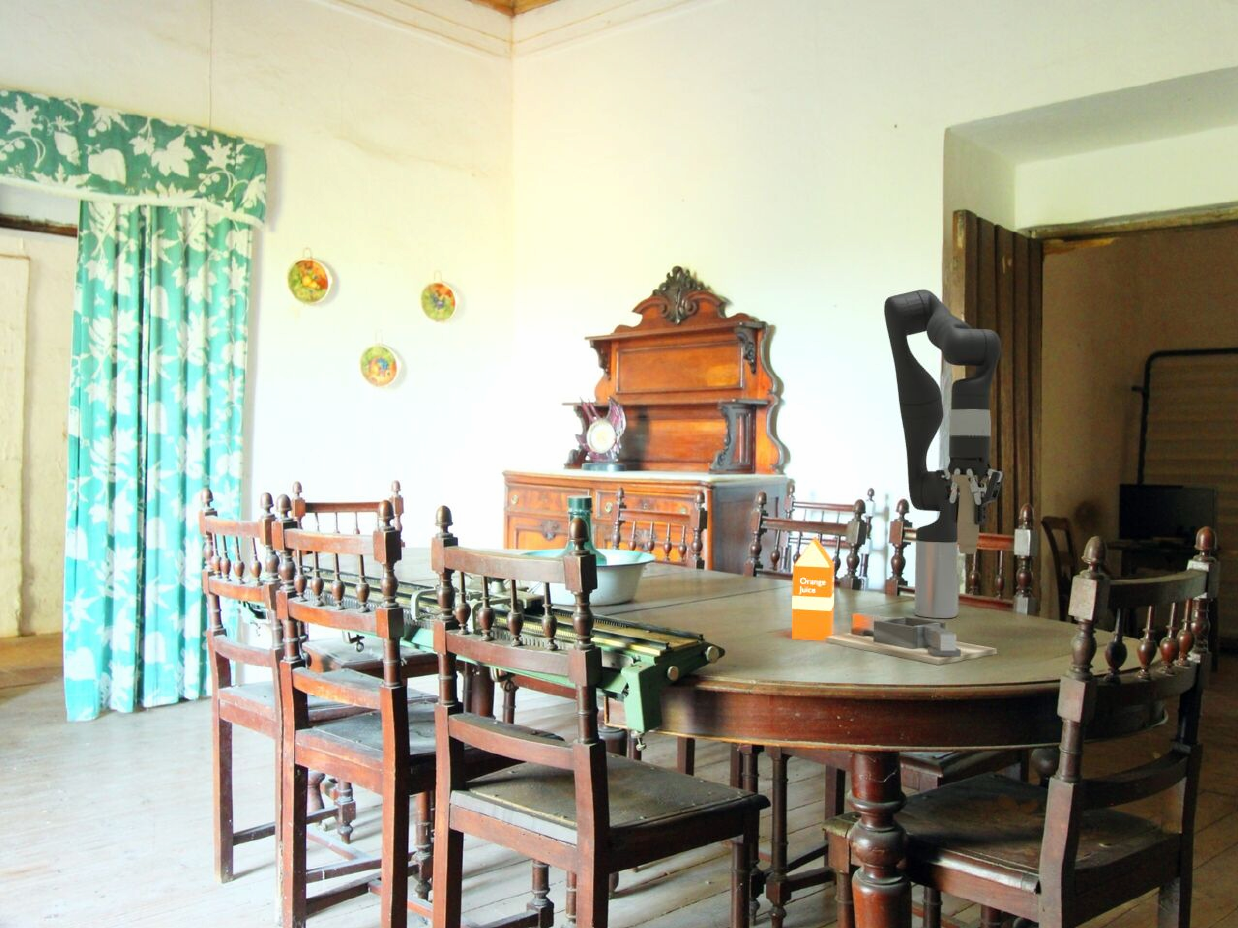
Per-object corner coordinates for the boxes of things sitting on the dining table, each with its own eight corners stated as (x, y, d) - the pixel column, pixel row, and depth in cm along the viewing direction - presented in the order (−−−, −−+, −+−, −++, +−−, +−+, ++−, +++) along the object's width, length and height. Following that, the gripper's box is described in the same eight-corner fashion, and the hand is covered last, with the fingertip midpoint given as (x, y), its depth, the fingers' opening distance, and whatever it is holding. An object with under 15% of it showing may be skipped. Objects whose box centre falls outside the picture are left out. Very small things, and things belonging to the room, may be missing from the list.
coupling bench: (883, 632, 214) (884, 608, 214) (996, 653, 193) (997, 627, 193) (825, 641, 203) (826, 616, 203) (938, 665, 182) (939, 636, 182)
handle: (949, 551, 200) (950, 474, 200) (984, 552, 199) (985, 474, 198) (950, 553, 196) (952, 474, 195) (986, 555, 194) (988, 475, 194)
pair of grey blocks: (865, 631, 210) (865, 611, 210) (979, 652, 189) (980, 631, 189) (832, 636, 203) (832, 616, 203) (947, 659, 183) (947, 636, 183)
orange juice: (833, 633, 213) (835, 536, 212) (830, 640, 204) (832, 540, 204) (795, 631, 215) (797, 535, 215) (790, 638, 206) (792, 538, 206)
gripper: (1015, 434, 194) (1013, 525, 194) (948, 434, 205) (946, 520, 205) (993, 433, 189) (991, 527, 189) (926, 433, 200) (924, 521, 200)
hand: (968, 523), depth 197 cm, fingers closed on handle, 4 cm apart
